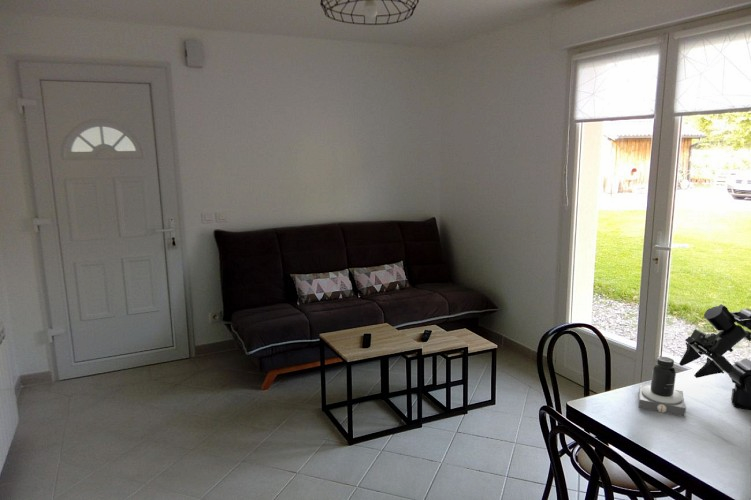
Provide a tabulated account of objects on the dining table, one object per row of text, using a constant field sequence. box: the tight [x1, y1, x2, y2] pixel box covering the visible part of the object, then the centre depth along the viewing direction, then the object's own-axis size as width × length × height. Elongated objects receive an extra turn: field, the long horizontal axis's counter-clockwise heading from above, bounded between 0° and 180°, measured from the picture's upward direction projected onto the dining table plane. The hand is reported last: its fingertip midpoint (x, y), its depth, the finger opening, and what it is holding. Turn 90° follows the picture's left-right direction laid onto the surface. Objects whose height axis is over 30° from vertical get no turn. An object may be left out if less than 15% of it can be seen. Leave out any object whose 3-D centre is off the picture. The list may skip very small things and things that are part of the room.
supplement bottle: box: [650, 356, 677, 397], centre depth 173 cm, size 7×7×12 cm
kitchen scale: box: [638, 383, 686, 418], centre depth 174 cm, size 13×14×4 cm
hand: (687, 370), depth 172 cm, fingers open, 9 cm apart
